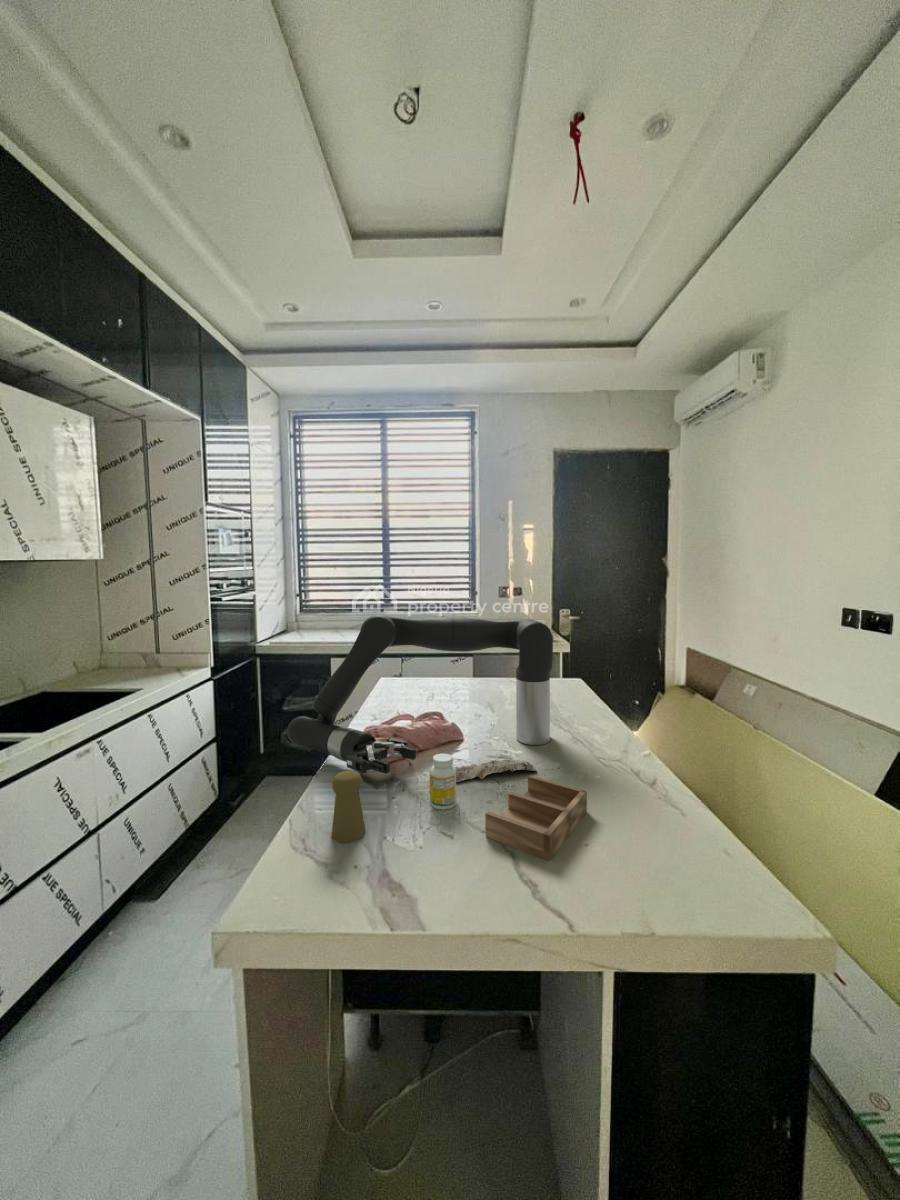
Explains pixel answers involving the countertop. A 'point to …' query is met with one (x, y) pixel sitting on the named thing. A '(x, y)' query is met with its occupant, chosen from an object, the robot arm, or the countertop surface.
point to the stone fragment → (490, 768)
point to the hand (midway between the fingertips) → (402, 761)
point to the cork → (347, 808)
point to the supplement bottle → (443, 782)
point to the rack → (538, 817)
